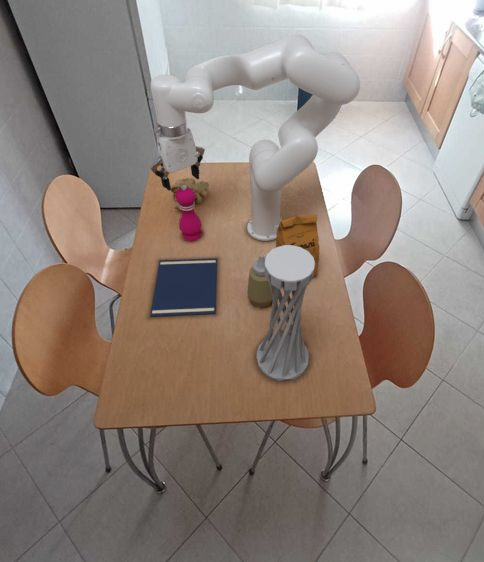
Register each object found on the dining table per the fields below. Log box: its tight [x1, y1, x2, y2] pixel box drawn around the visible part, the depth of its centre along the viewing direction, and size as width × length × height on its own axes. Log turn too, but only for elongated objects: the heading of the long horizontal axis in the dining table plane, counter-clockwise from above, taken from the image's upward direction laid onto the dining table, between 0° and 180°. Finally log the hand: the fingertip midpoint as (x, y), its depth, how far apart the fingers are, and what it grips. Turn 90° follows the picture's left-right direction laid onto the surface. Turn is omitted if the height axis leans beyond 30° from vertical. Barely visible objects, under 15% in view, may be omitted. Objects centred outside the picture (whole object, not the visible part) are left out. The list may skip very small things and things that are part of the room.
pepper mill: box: [174, 184, 202, 242], centre depth 124 cm, size 7×7×20 cm
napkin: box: [149, 257, 218, 318], centre depth 117 cm, size 18×22×1 cm
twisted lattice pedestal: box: [255, 245, 315, 382], centre depth 88 cm, size 14×13×35 cm
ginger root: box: [170, 177, 210, 211], centre depth 143 cm, size 16×16×8 cm
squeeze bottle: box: [246, 253, 273, 308], centre depth 107 cm, size 8×8×18 cm
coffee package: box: [275, 214, 320, 277], centre depth 113 cm, size 10×12×22 cm
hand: (181, 182), depth 116 cm, fingers open, 9 cm apart
